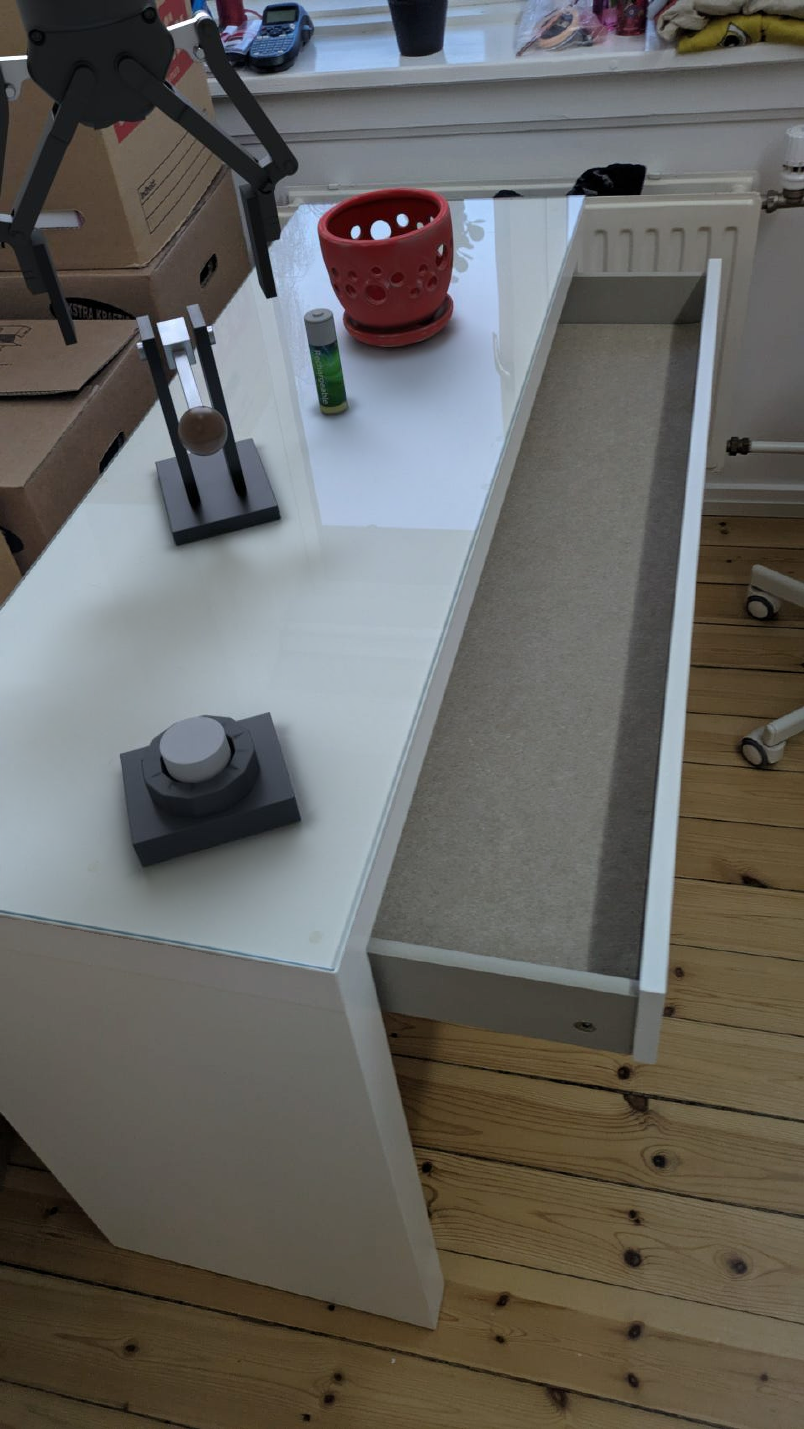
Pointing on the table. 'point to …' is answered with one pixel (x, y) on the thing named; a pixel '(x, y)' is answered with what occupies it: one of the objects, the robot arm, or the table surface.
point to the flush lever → (191, 393)
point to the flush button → (195, 749)
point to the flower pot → (390, 265)
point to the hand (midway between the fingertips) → (170, 313)
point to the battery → (326, 360)
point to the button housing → (208, 794)
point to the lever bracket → (213, 485)
